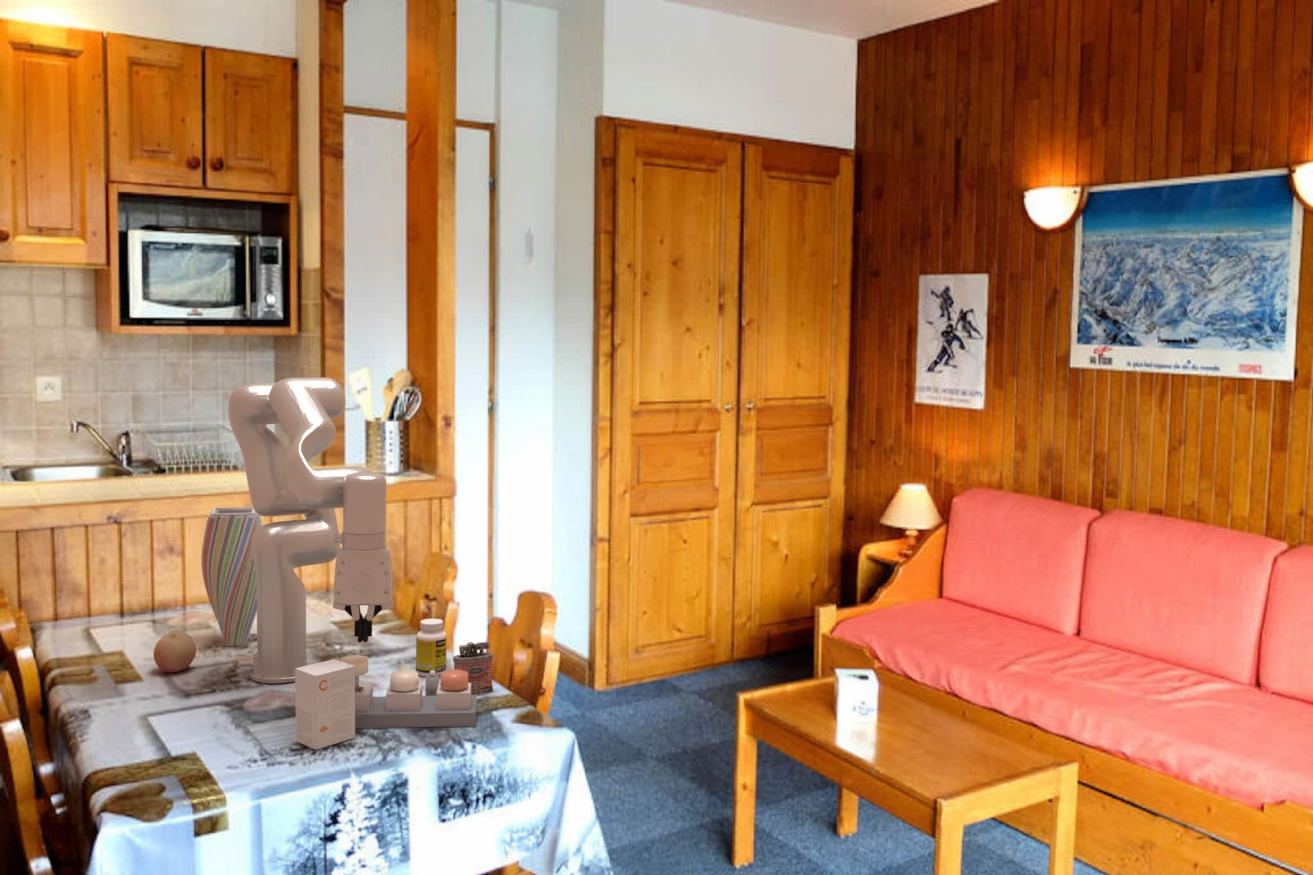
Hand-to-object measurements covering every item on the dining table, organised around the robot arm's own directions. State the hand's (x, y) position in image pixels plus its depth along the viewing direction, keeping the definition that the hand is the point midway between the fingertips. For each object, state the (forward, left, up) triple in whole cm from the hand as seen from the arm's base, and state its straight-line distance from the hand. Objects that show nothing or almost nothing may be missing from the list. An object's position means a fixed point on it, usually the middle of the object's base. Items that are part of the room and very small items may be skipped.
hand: (363, 640), depth 207 cm
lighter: (+19, +14, -15) cm, 28 cm away
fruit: (-42, +31, -15) cm, 54 cm away
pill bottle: (+10, +27, -15) cm, 33 cm away
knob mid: (+7, 0, -12) cm, 14 cm away
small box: (-5, -11, -15) cm, 19 cm away
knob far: (+16, 0, -12) cm, 20 cm away
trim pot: (+12, +8, -15) cm, 21 cm away
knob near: (-2, 0, -9) cm, 9 cm away
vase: (-35, +52, -15) cm, 64 cm away
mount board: (+7, 0, -15) cm, 16 cm away
